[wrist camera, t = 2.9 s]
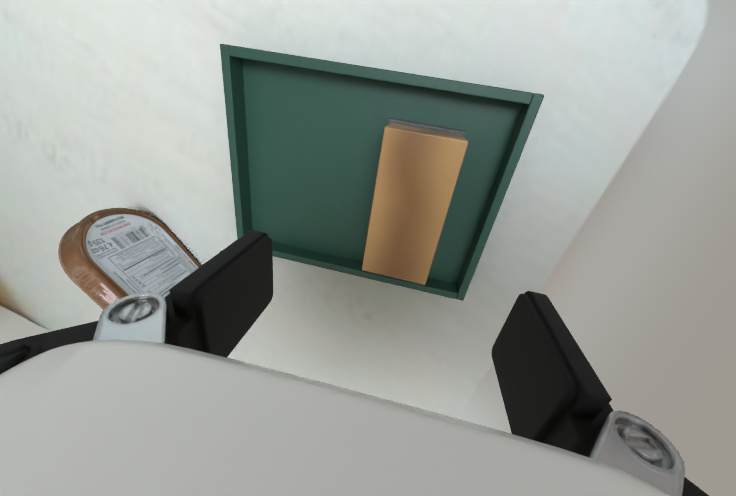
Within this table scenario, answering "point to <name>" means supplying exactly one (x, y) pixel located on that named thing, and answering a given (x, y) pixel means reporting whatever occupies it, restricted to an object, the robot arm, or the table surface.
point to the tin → (123, 255)
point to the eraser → (412, 197)
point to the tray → (360, 156)
